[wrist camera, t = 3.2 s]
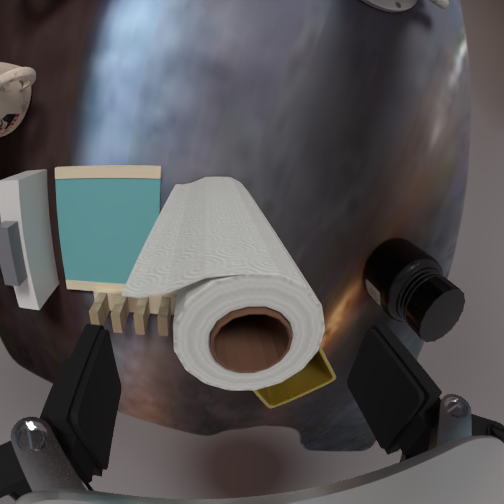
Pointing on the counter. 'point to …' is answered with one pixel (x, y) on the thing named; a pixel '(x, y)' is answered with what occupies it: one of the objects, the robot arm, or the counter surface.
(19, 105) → the teacup with lid
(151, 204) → the pad
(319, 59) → the counter surface
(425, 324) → the ink bottle
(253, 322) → the paper towel roll
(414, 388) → the robot arm
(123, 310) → the cable comb
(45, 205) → the block
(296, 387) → the flower pot
